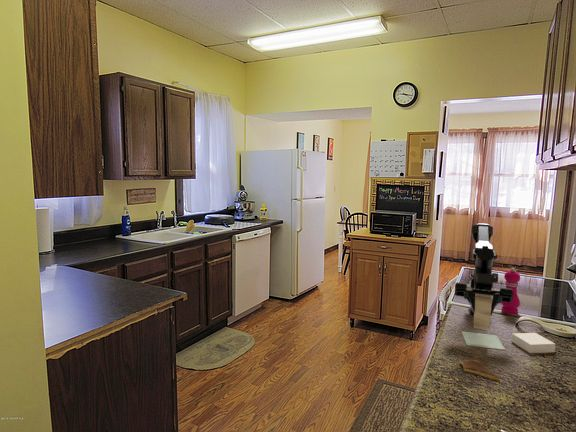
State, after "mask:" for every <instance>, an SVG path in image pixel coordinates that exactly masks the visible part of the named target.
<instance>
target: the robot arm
mask: <svg viewBox="0 0 576 432" xmlns="http://www.w3.org/2000/svg"><path fill="white" fill-rule="evenodd" d="M470 230H471V233H470V234H471V236H472V241H473V243H474V248H472V259H473V260H474V277H473V278H472V280H471V281H470V285H468V283H464V282H455V284H454V296H456V297H463V299H465V300H467V302H468V304H469V306H470V308H468V309H467V310H468V312H469V314H470V315H473V316H474V313H475V293H476V294H484V295H491V297H492V305H491V316H492V315H493V313H494V311H495V309H496V307H497V306H498V305H499V304H502V303H501V302H508V303H511V302H512V299H513V296H514V294H513V290H512V289H509V288H506V287H500V289H499V290H493V288H494V287H493V286H494V285H493V284H497V283H499V273H497V272H496V273H495V272H493V268H492V267H493V265H494V261H496V259H498V253H497V252H496V251H495V250H494V245H492V244H491V243H490V241H491V240H492V239H491V238H492V237H493V235H494V227H493V226H491V224H489V223H480V222H479V223H476V224H475V225H471V229H470Z"/></svg>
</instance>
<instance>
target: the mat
mask: <svg viewBox="0 0 576 432" xmlns="http://www.w3.org/2000/svg"><path fill="white" fill-rule="evenodd" d="M461 335H462V336H463V339H464V341H465V344H466V346H468V347H476V348H484V349H492V350H499V351H500V350H501V351H506V348H505V346H504V345H503V344H502V342H501V340H500V338H499V337H498V336H497V334H496V335H495V334H488V333H478V332H469V331H463V330H462V331H461Z"/></svg>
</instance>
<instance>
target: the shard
mask: <svg viewBox="0 0 576 432" xmlns="http://www.w3.org/2000/svg"><path fill="white" fill-rule="evenodd" d="M458 362H459V363H460V365H462V367H463V371H464V372H466V373H472V374H475V375H478V376H481V377H484V378H487V379H490V380H495V381H498V382H499V381H500V380H501V379H502V377H500V376H499V375H498V374H496V373H495V371H493V370H492V369H491V368H489V367H488V366H487V365H485V364H484V363H483V362H481V361H480V360H475V359H460V360H459V361H458Z"/></svg>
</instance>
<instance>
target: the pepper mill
mask: <svg viewBox="0 0 576 432" xmlns="http://www.w3.org/2000/svg"><path fill="white" fill-rule="evenodd" d="M503 276H504V280H505V283H504V284H505V288H509V289H512V290H513V294H514V296H513V299H512V302H511V303H508V302H501V303H500V304H501V305H502V306H501V312H502V313H505V314H508V315H517V314H518V313H519V309H518V308H519V307H520V306H521V301H520V297H519V295H518V291H517V290H518V287H519V281H521V275H520V274H519V273H518V272H517V271H516V268H515V267H511V268H510V270H508V271H506V272H505V273H504V275H503Z"/></svg>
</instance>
